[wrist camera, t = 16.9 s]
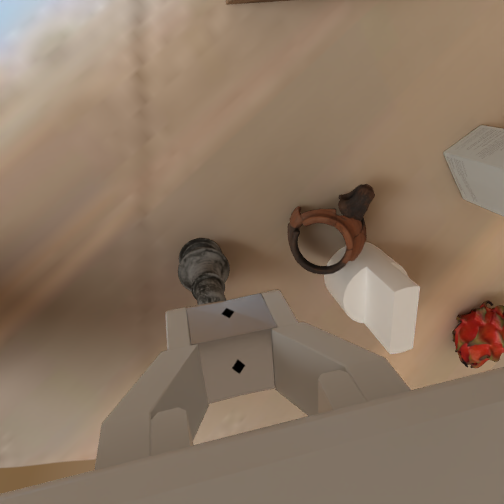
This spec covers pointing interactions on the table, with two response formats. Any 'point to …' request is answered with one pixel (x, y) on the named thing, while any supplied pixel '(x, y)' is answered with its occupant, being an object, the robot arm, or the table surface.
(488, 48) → the table surface
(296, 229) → the brown grey sculpted ring
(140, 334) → the table surface
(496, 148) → the skincare box
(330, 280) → the base with upright slab
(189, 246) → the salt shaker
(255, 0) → the hitch block
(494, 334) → the dragon fruit
